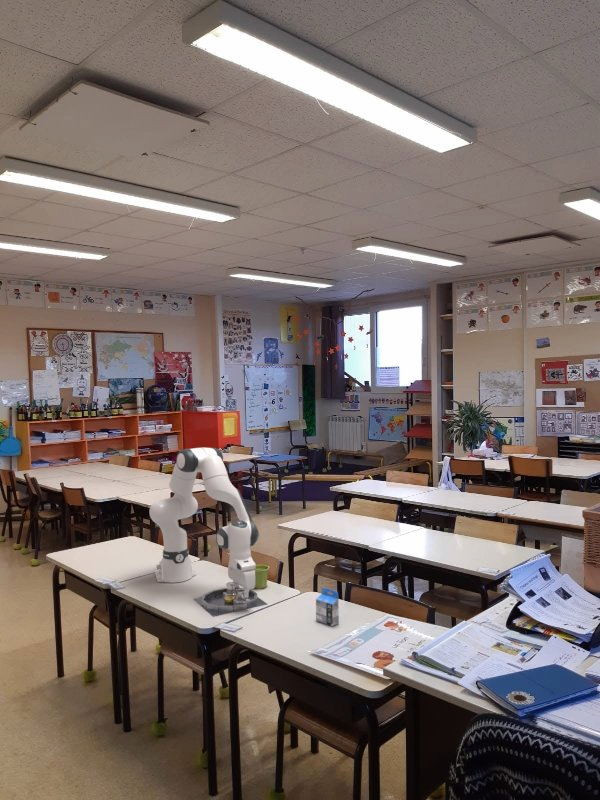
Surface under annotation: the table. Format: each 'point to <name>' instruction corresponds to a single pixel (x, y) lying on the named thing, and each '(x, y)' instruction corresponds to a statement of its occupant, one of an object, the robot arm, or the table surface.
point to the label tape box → (327, 607)
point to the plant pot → (261, 576)
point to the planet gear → (240, 597)
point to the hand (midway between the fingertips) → (241, 594)
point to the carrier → (227, 601)
